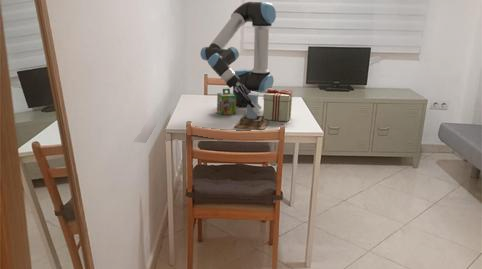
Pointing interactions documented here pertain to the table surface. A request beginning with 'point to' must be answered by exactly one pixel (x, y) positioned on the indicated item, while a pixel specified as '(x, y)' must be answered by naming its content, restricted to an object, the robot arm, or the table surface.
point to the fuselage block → (250, 112)
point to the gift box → (277, 104)
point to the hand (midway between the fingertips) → (258, 110)
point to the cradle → (252, 123)
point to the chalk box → (226, 103)
